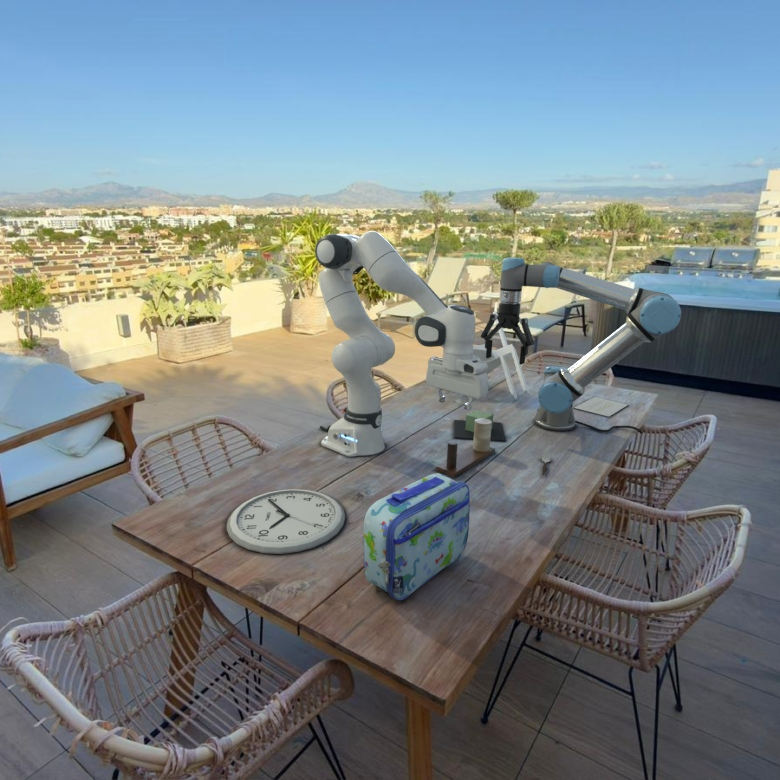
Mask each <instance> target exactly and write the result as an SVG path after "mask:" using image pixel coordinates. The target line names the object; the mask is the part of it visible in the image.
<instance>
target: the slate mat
mask: <svg viewBox="0 0 780 780" xmlns="http://www.w3.org/2000/svg"><path fill="white" fill-rule="evenodd" d="M465 426H466V419H454V434H453V435H454V439H455V440H471V441H473V440H474V432H471V431H468V430H465ZM490 442H503V443H504V442H506V438H505V434H504V430H503V426H502V422H498V421H493V426H492V430H491V439H490Z"/></svg>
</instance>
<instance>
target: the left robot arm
mask: <svg viewBox="0 0 780 780" xmlns="http://www.w3.org/2000/svg"><path fill="white" fill-rule="evenodd" d="M314 254H315V255H314V256H315V259H316V261H317V262H318V264H319V265H321V266H322V267H323V268H324V269H322V270H321V272H320V273H319V275H318V283H319V288H320V292H321V296H322V298H323V301H324V303H325V307H326V308H327V311H328V313H329V316H330V318H331V321H332V323H333V326H335V328H337V329H338V330H340V331H342V332H343V333H344V334H346V335H347V337H349V338H348V339H345V340H343V341H341V342H340V343H338V344H337V345H335V346H334V347H333V348H332V351H331V357H330V358H331V362H332V365H333V367H334V369H335V370H336V371H337V372H338V373H340V375H342V377H343V379H344V381H345V385H346V389H347V390H346V391H347V406H346V407H344V408H343V409H342V410H341V413H340V414H341V415H342V414H343V416H342V417H341V418H340V419H338V420H337V421H335V422H334V423H333V424H331V425H329V426H327V428H326V427H324V426H323V425H320V426H319V429H321V430H323V431H324V432H327V435H326V436H325V437H324V438H323V439H321V441H320V445H321V446H322V447H324V448H327V449H329V450H331V451H334V452H336V453H338V454H341V455H343V456H346V457H349V458H353V457H358V456H372V455H377V454H379V453H381V452H383V451H384V450H385V449H386V445H385V442H384V437H383V431H382V421H383V411H382V410H383V409H382V407H381V405H382V404H381V402H382V401H381V400H382V388H381V386H380V384H379V383H378V382H377V381H376V380H374V377H373V373H372V370H373V368H375V367H376V368H377V367H379V366H383V365H385V364H386V363H387V362H389V361H390V360H391V359H393V358H394V355H395V354H396V353H395V352H396V345H395V342H394V340H393V339H392V337H391V336H390V335H388V334H387V333H385V332H383V331H382V330H381V329H380V328H379V327H378V326H377V325H376V324H375V322H374V321H373V320H372V319H371V318H370V316H369V315H368V313H367V311H366V309H365V307H364V304H363V303H362V301H361V298H360V296H359V294H358V291H357V289H356V286H355V284H354V282H353V275H359V273H360V272H361V271H362V270H363V269H364V270H365V271H366V273H367V274H368V275H369V277H370V279H372V280H373V282H374V283H375V284H376V285H377V286H378V287H379V288H380V289H381V290H383V291H385V292H388V293H393V294H398V295H402V296H404V297H405V296H406V297H408V298H410V299H412V300H413V301H414V302H415V303H416V304H417V305H418V306H419V307H420V308H421V309H422V311H423V312H424V313H425V315H423V316H421V317H419V318H418V319H417V320H416V321H415V325H414V337H415V339H416V340H417V342H418V343H419V344H420V345H421V346H422V347H423V346H424V347H427V348H435V347H442V357H440V356H435V355H433V356H431V357H429V358H428V361H427V368H426V369H427V370H426V375H425V383H426V385H427V386H429V387H432V388H435V389H434V390H435V394H436V395H437V402H439V403H442V404H443V403H445V402H446V395H444V393H443V390H444V391H448V392H450V393H455V394H459V395H463V396H466V397H467V400H468V402H466V403H464V405H463V406H464V407H463V409H464V410H466V411H471V410H472V406H473V405H472V404H474V402H475V400H476V399H477V400H481V399H484V398H486V396H488V395H489V394H488V393H489V374H487V373H486V372H485V371H486V370H487V369H488V365H487V364H486V363H485V362H483V361H481V360H480V359H478V358H477V357H475V356H474V355H473V352H474V351H473V347H474V341H475V338H476V314H475V311H473V309H471V308H470V307H469V306H465V305H463V304H462V305H460V304H450V305H449V306H448V305H447V304H446V303H445V301H443V300H442V299H441V298H440V297H439V295H438V294H437V293H436V292H435V291H434V290H433V289H432V288H431V287H430V286H429V284H427V283H426V281H425V280H424V279H423V278H422V277H420V276H419V275H418V273H417V272H415V271H414V270H413V269H412V268H411V266H409V264H408V263H407V262H406V261H405V260H404V258H403V257H402V256H401V255H400V253H399V252H398V251H397V250H396V248H395V247H394V246H393V245H392V244H391V243H390V242H389V240H387V239H386V237H384V236H383V235H382V234H381V233H379V232H377V231H375V230H371V231H367V232H365V233H363V234H361V235H358V234H357V235H355V234H350V233H337V234H336V233H329V234H326V235H323V236H322V237H320V238H319V239H318V240H317V242H316V244H315V248H314Z"/></svg>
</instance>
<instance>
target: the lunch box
mask: <svg viewBox="0 0 780 780" xmlns="http://www.w3.org/2000/svg"><path fill="white" fill-rule="evenodd" d="M470 497H471V496H470V488H469V485H468V484H467V483H466V482H461V481H460V482H458V481H455V480H454V479H452V478H450V477H448V476H446V475H445V474H443V473H440V472H437V473H432V474H429V475H427V476H424V477H423V478H421V479H418V480H417V481H414V482H412V483H410V484H408V485H406V486H404V487H402V488H400V489H398V490H396V491H394V492H392V493H390V494H388V495H386V496H383V497H382V498H380V499H378V500H376V501H375V502H373V503H372V504H371V505H370V506H369V508H368V510H367V511H366V513H365V516H364V520H363V528H362V529H363V531H362V532H363V533H362V534H363V536H362V537H363V566H364V567H363V569H364V576H365V579H366V581H367V582H368V583H370V584H372V585H374V586H376V587H378V588H380V589H381V590H383V591H384V592H386V593H387V594H388V595H389V596H390V597H391V598H393V599H395V600H396V601H404V600H405V599H407V598H409V597H410V596H411V595H412V594H413V593H414V592H416V591H417V590H418V589H419V588H421V587H422V586H424V585H425V584H426V583H428V582H429V581H430V580H431V579H432V578H434V577H435V576H437V574H439V572H441V571H442V570H444V569H445V568H447V567H448V566H450V565H452V564H453V563H454V562H455V561H457V560H458V559H459V558H460V557H461V555H462V554H463V552H464V550H465V549H466V546H467V543H468V539H469V529H470V527H469V526H470V511H471V509H470V507H471V504H470V503H471V501H470Z"/></svg>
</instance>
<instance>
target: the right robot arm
mask: <svg viewBox="0 0 780 780" xmlns="http://www.w3.org/2000/svg"><path fill="white" fill-rule="evenodd" d="M523 287H532V288H545V289H550V288H551V289H558V290H562V291H565V292H568V293H571V294H574V295H577V296H580V297H584V298H587V299H590V300H593V301H596V302H599V303H602V304H605V305H608V306H611V307H615V308H617V309H621V310H623V311H625V313H626V314H627V315H626V318H625V322H624V324H622V325H621V326H620V327H619V328H617V329H616V330H615V331H613V332H612V333H611V334H610V335H608V336H607V337H606V338H605V339H604V340H602V341H601V342H600V343H599V344H597V345H596V346H595V347H594V348H593V349H591V350H590V351H589V352H588V353H586V354H585V355H584V356H582V357H581V358H580V359H579V360H578V361H576V362H575V363H574V364H572V365H571V366H570V367H567V366H558V365H557V366H556V365H552V366H551V365H549V366H546V367H545V368H544V372H543V381H542V383H541V386H540V388H539V390H538V392H537V393H538V394H537V398H538V402H539V407H538V408H537V410H536V413H535V416H534V424H535V425H536V426H537V427H539V428H542V429H544V430H549V431H556V432H567V431H572V430H574V429H575V428H576V424H578V425H580V426H584V427H586V428H588V429H592V430H594V431H596V432H601V433H610V432H611V431H613V429H632V430H634V431H637V432H638V433H639V434H644V432H643V431H642V430H641V429H640V428H639V427H637V426H633V425H613V426H611V427H610V428H608V429H601V428H599V427H596V426H593V425H590V424H587V423H585V422H581V421H579V420H577V419H576V418H575V417H576V416H575V413H574V407H573V405H574V402H575V401H576V400H578V399H579V398H581V396H584V395H585V391H586V387H587V386H589V385H590V384H592V383H593V382H594V381H596V380H597V379H598V378H599V377H601V376H602V375H603V374H605V373H606V372H607V371H608V370H610V369H611V368H612V367H613V366H615V365H616V364H618V362H620V361H621V360H622V359H624V358H625V357H627V356H628V355H629V354H630V353H632V352H633V351H634V350H636V349H637V348H638V347H640V346H641V345H642V344H643V343H653V342H654V341H655V340H656V339H658V338H659V337H660V336H662V335H665V334H669V333H670V332H672V331H673V330H674V329H676V327H677V326H678V325H679V323H680V321H681V318H682V309H681V306H680V304H679V303H678V301H677V300H676V299H674V298H673V297H672V296H671V295H670V294H668V293H666V292H663V291H655V290H650V289H646V288H642V287H639V286H638V287H636V288H631V287H628V286H625V285H621V284H619V283H615V282H612V281H609V280H605V279H602V278H599V277H595V276H593V275H589V274H586V273H582V272H579V271H576V270H573V269H569V268H566V267H563V266H559V265H556V264H554V263H553V262H549V261H545V262H542V263H539V264H528V263H526V262H525V258H523V257H506V258H503V259H502V265H501V271H500V287H499V303H498V310H497V314H498V315H496V314H493V313H492V314H490V315H489V320H488V322H487V323H486V325H485V327H484V329H483V331H482V333H481V334H480V338H481V339H483V340H484V344H485V348H486V349H487V350H486V358H490V357H491V354H492V350H493V339H492V338H493V337H494V336H495V335H496V334H497V333H499V330H500V329H501V328H503V329H507V330H511V331H512V332H514V333H515V335H516V337H517V338H518V339H519V342H520V343H521V344H522V345H521V346H520V353H519V364H520V365H524V364H525V363H526V362H525V361H526V356H527V355H529V348H530V347H531V346H533V345H535V341H534V338H533V335H532V332H531V329H530V326H529V323H528V322H529V319H528V318H527V317H520V314H521V302H522V292H523ZM496 319H497V320H498V321H499V323H498V324H497V325H495V326H494V324H495V323H496V321H495V320H496ZM519 323H520V325H521V327H520V325H519ZM493 326H494V328H493ZM521 328H522V329H521ZM491 329H492V330H491Z"/></svg>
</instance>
